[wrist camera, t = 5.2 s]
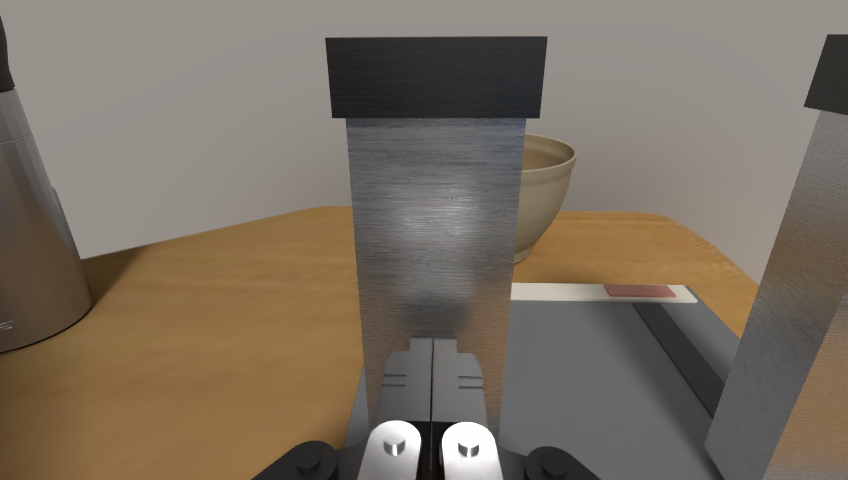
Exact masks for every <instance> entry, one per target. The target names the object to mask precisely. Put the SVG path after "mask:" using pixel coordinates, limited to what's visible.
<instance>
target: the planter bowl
mask: <svg viewBox="0 0 848 480" xmlns="http://www.w3.org/2000/svg"><path fill="white" fill-rule="evenodd" d="M576 157H577V151H576V149H575V148H573V147H572V146H571V145H569V144H568V143H565V142H563V141H560V140H557V139H554V138H550V137H545V136H539V135H535V134H529V133H525V138H524V149H523V161H522V172H521V184H520V195H519V207H518V219H517V230H516V242H515V253H514V264H516V263H518V262H520V261H522V260H523V259H525V258H526V257H527V256H528V254H529V253H530V250H531V246H532V244H533V243H534V242H535V241H536V240H538V239H539V237H540V236H541V235H542V234H543V233H544V232H545V231H546V230H547V228H548V227H549V226H550V224H551V223H552V221H553V220H554V218H555V217H556V215H557V213H558V211H559V209H560V207H561V205H562V203H563V201H564V198H565V196H566V193H567V189H568V186H569V182H570V177H571V171H572V169H573V167H574V165H575V161H576Z"/></svg>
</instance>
